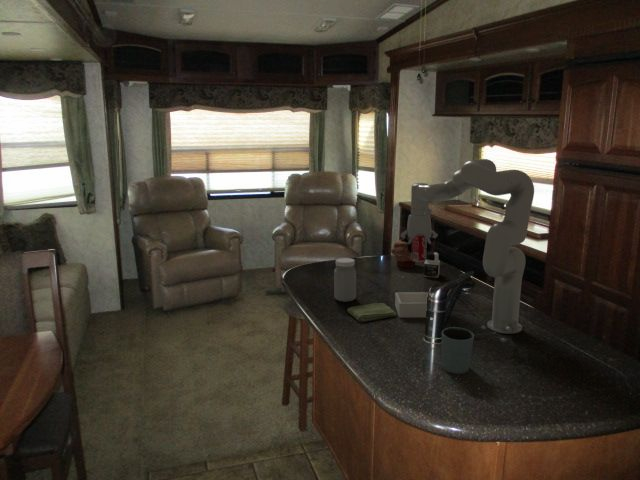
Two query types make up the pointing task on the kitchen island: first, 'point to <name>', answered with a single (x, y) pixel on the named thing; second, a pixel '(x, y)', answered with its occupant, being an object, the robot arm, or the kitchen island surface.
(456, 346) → the grey teal cup
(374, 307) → the washcloth
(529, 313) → the kitchen island surface
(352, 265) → the jar
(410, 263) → the decorative planter
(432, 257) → the medicine bottle
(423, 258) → the soda can
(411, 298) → the tote
